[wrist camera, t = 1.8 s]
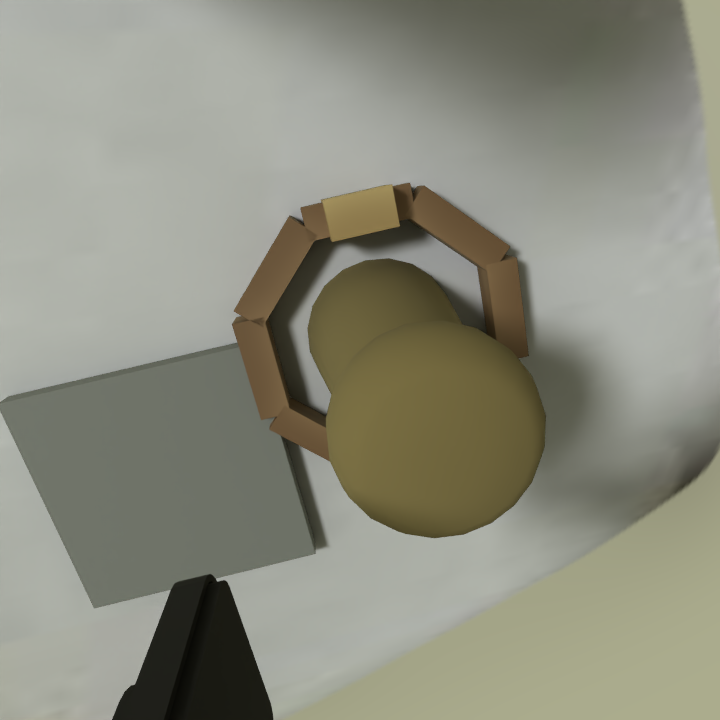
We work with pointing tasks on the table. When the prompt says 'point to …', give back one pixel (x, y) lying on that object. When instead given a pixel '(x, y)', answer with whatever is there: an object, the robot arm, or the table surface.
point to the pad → (161, 474)
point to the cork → (421, 403)
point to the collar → (348, 221)
